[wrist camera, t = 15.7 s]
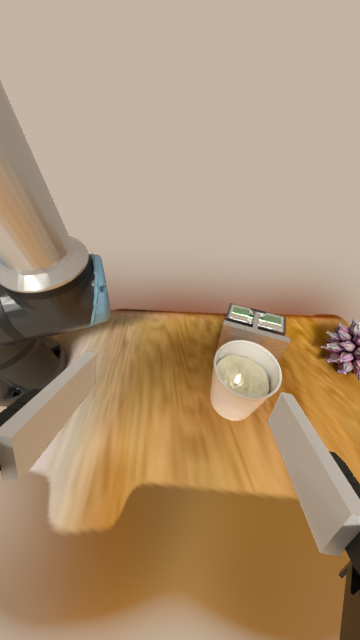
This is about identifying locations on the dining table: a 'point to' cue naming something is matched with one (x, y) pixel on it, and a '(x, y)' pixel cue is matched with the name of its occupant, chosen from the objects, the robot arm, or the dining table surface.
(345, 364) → the flower
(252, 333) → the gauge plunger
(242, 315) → the box
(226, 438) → the dining table surface
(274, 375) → the white cream cup
